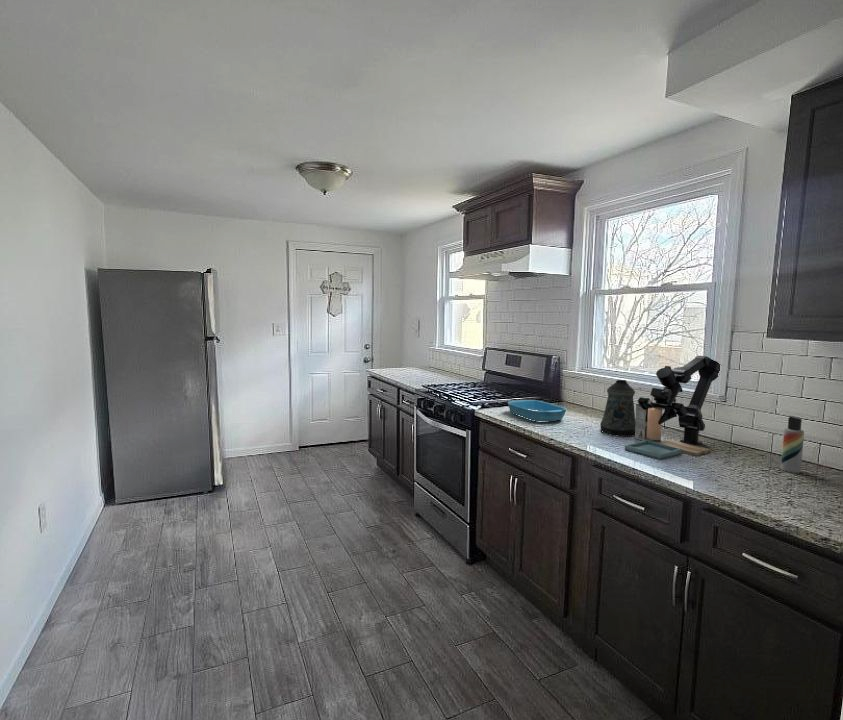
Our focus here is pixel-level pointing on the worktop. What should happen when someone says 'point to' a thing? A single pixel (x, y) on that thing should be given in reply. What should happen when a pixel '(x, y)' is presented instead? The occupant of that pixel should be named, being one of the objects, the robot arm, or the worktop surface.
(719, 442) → the worktop surface
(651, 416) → the tan glossy round part
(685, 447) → the tan board
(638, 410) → the coffee box
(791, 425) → the lotion bottle
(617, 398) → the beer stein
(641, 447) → the tray
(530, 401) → the casserole dish
